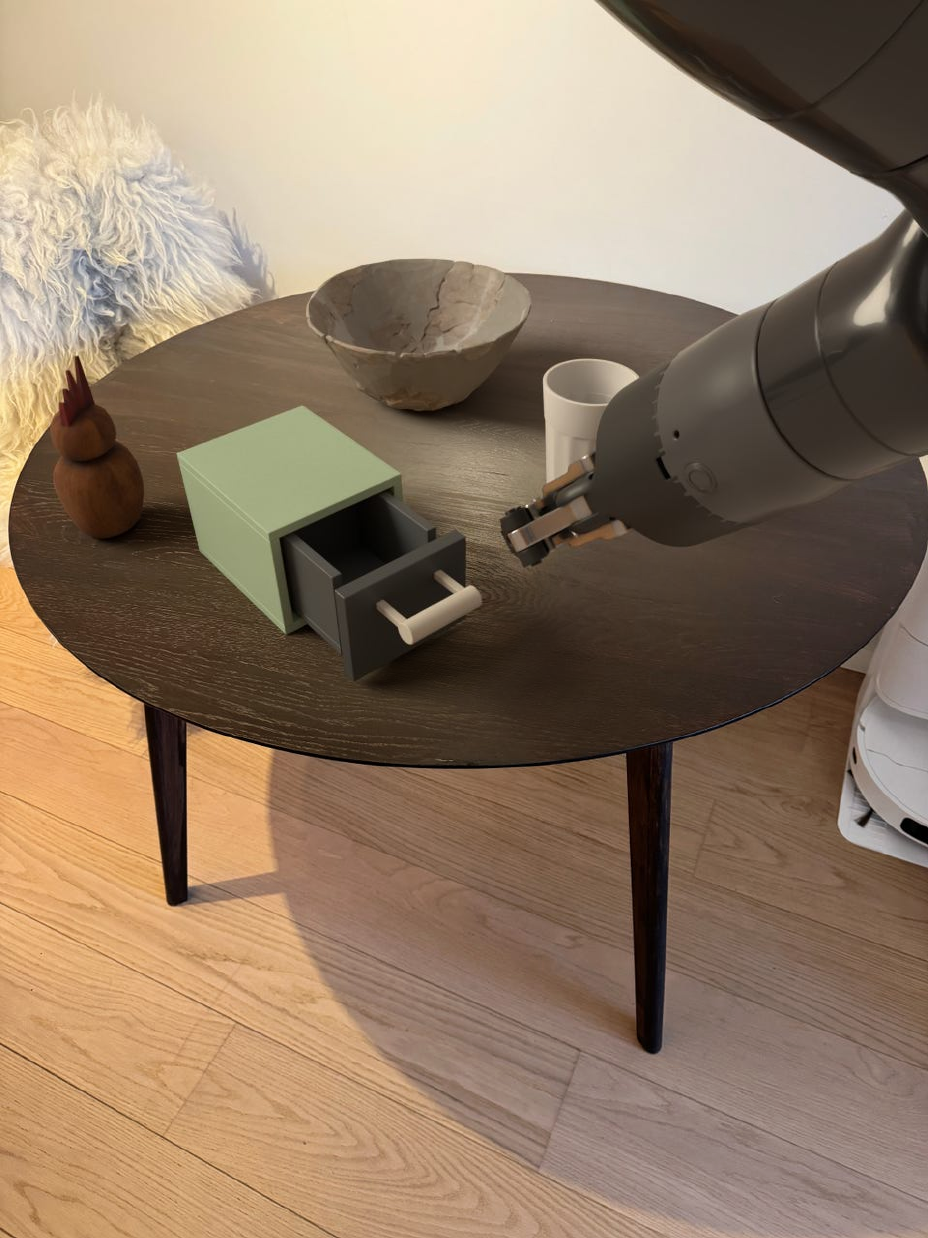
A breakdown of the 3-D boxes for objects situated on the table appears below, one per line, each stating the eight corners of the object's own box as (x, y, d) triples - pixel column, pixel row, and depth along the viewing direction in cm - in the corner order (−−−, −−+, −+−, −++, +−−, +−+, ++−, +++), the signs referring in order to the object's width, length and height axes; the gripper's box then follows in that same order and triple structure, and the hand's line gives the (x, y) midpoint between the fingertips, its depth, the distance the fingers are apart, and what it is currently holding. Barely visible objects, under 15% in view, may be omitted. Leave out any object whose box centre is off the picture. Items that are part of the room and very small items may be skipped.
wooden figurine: (122, 496, 85) (76, 340, 75) (165, 518, 82) (123, 360, 72) (59, 533, 81) (1, 373, 71) (101, 557, 78) (48, 395, 68)
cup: (523, 517, 82) (529, 394, 74) (551, 471, 88) (560, 351, 80) (611, 538, 80) (627, 413, 72) (635, 489, 86) (652, 368, 78)
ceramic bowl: (518, 340, 108) (522, 253, 102) (536, 446, 91) (541, 350, 84) (326, 343, 108) (316, 256, 101) (307, 451, 91) (294, 354, 84)
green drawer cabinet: (407, 572, 77) (401, 473, 70) (286, 635, 71) (268, 533, 65) (315, 500, 84) (302, 404, 78) (199, 551, 79) (175, 452, 73)
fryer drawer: (504, 648, 69) (507, 565, 64) (390, 717, 64) (383, 633, 59) (369, 542, 78) (362, 462, 73) (261, 594, 73) (246, 513, 68)
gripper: (797, 295, 40) (570, 435, 55) (575, 396, 33) (389, 521, 48) (873, 455, 40) (628, 549, 55) (669, 583, 34) (455, 650, 49)
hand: (516, 536), depth 52 cm, fingers closed
